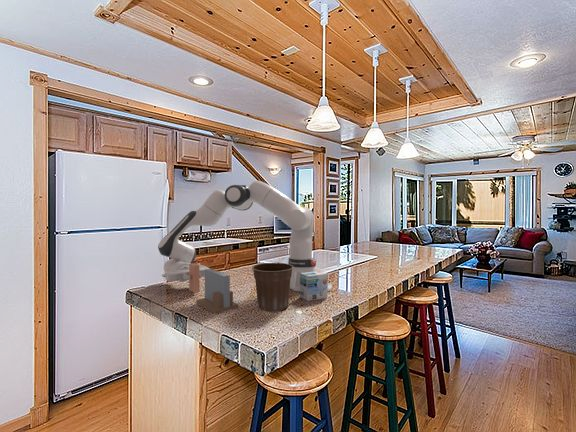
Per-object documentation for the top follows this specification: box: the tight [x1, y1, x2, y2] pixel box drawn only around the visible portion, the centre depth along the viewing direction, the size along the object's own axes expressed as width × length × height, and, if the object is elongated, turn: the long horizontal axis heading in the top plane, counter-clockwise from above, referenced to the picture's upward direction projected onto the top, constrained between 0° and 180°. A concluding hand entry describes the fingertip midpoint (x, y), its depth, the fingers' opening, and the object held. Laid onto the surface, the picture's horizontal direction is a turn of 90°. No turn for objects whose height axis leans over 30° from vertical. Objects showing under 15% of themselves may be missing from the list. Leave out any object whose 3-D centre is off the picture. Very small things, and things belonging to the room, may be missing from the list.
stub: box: [188, 262, 200, 294], centre depth 146 cm, size 5×2×12 cm, turn 41°
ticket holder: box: [195, 268, 239, 315], centre depth 130 cm, size 16×10×14 cm, turn 41°
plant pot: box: [251, 262, 293, 312], centre depth 129 cm, size 16×16×16 cm
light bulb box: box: [299, 270, 329, 302], centre depth 142 cm, size 11×7×11 cm, turn 117°
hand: (195, 276), depth 145 cm, fingers closed on stub, 2 cm apart
